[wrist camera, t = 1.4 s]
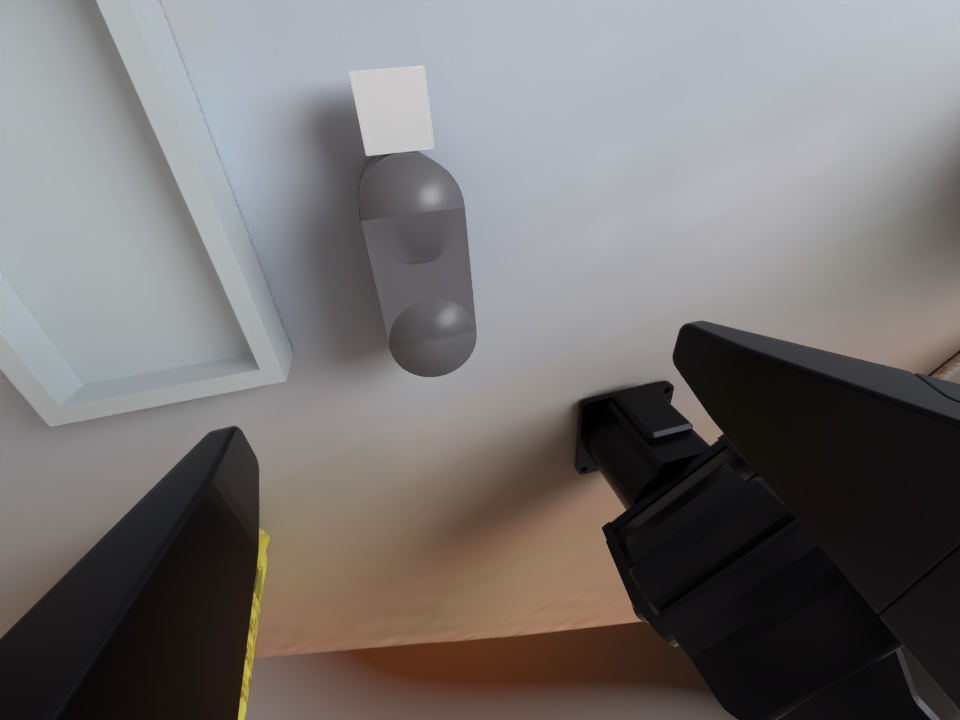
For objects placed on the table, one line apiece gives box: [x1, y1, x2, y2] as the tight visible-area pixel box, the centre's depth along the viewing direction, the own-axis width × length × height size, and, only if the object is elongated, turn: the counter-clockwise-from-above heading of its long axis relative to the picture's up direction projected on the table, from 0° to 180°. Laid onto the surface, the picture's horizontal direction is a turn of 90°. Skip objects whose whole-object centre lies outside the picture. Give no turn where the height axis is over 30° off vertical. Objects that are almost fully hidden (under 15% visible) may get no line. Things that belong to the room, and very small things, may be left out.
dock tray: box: [0, 0, 294, 427], centre depth 14 cm, size 15×9×2 cm, turn 4°
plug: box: [349, 65, 476, 377], centre depth 16 cm, size 11×4×4 cm, turn 4°
